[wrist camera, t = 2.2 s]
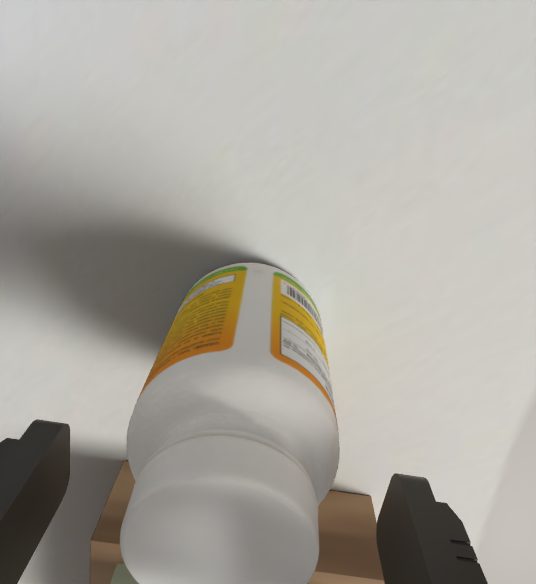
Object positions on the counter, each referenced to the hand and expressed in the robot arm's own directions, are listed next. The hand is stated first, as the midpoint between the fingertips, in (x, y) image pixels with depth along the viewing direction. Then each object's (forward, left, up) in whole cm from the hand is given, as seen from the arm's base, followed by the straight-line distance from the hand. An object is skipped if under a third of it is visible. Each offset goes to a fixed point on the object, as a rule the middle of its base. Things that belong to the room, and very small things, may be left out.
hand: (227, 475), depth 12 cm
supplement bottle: (0, 0, -7) cm, 7 cm away
